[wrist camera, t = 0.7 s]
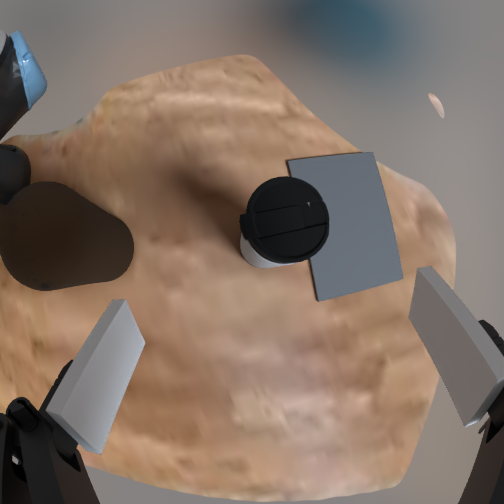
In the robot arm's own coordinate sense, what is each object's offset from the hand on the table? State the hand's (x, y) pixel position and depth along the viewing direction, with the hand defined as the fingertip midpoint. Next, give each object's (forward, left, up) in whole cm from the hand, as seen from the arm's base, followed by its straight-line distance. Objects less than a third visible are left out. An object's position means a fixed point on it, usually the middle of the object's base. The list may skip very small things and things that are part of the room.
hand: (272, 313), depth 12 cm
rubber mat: (-6, +16, -27) cm, 32 cm away
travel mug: (-5, +3, -27) cm, 27 cm away
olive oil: (-9, -19, -27) cm, 34 cm away
